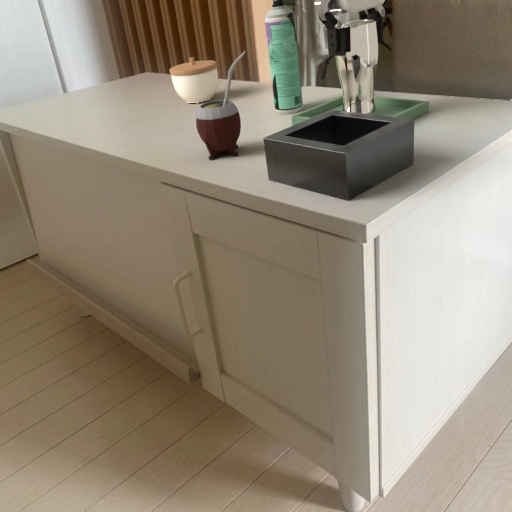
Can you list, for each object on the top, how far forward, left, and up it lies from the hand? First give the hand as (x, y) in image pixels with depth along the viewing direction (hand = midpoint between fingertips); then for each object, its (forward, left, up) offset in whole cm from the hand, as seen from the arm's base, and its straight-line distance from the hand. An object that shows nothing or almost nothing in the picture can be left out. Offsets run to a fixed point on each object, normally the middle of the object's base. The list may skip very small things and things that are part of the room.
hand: (356, 48), depth 88 cm
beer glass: (0, 0, -11) cm, 11 cm away
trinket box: (+45, +1, -12) cm, 47 cm away
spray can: (+17, 0, -12) cm, 21 cm away
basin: (-13, +21, -12) cm, 27 cm away
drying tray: (0, 0, -12) cm, 12 cm away
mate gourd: (+9, +23, -12) cm, 27 cm away
